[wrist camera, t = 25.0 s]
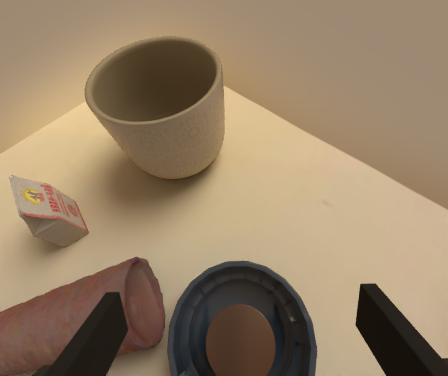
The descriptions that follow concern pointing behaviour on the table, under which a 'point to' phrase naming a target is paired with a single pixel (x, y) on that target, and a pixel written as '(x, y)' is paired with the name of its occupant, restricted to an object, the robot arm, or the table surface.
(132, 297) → the pink vase
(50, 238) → the tea bag
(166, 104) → the planter
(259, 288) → the bowl
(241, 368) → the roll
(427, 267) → the table surface
